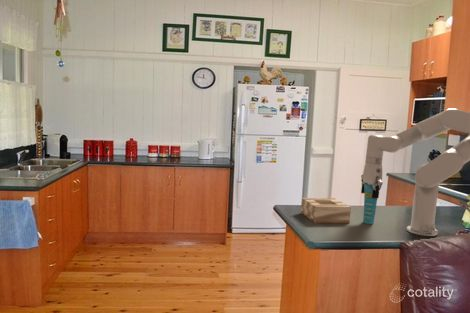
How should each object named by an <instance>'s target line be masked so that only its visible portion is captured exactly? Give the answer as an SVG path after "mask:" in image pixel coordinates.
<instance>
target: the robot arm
mask: <svg viewBox="0 0 470 313" xmlns="http://www.w3.org/2000/svg"><path fill="white" fill-rule="evenodd" d="M451 130H452V131H453V130H454V131H456V132H461V133H465V134H468V135H467V136H466V137H465V138H464V139H462V140H461V141H460V142H458V143H456V144H455V145H454V146H452V147H451V148H448V149H447V150H445V151H443V152H441V154H440V155H438V156H436V157H435V158H434V159H432V160H431V161H429V162H427V163H424V164H421V165H420V166H419V167H418V168H417V169H416V172H415V175H414V179H415V183H414V184H415V185H414V193H413V200H412V209H411V220H410V225H408V226H406V231H407V232H408V233H411V234H414V235H418V236H423V237H436V236H437V235H438V233H439V230H438V229H436V225H435V222H436V220H435V219H436V213H437V212H436V211H437V203H438V197H439V195H438V194H439V186H440V183H442V182H443V181H446V180H447V179H449V178H450V177H452V176H454V175H455V174H457V173H458V172H460V171H461V170H462V169H463V167H464V165H465V164H467V163H468V162H470V111H464V110H463V109H462V110H461V109H458V108H453V107H452V108H450V107H449V108H447V109H445V110H444V111H441V112H439V113H437V114H434V115H432V116H430V117H428V118H426V119H424V120H422V121H419V122H417V123H415V124H414V125H413V126H411V127H409V128H407V129H405V130H403V131H401V132H399V133H396V134H395V135H391V136H385V135H377V134H369V136H368V138H367V145H366V153H365V164H364V167H363V168H364V169H363V171H362V172H363V173H362V174H361V175H360V177H361V179H360V180H361V190H360V191H361V192H360V193H361V194H364V183H365V184H370V185H373V189H374V190H373V191H372V198H377V199H379V198H380V197H379V196H380V190H381V188H382V186H383V183H384V182H383V181H382V180H383V158H384V157H383V156H384V152H386V153H393V154H394V153H398V151H400V150H403V149H405V148H407V147H410V146H412V145H414V144H417V143H420V142H424V141H425V142H426V141H427V140H430V139H432V138H434V137H436V136H438V135H439V136H440V135H441V134H443V133H446V132H448V131H451ZM375 186H376V187H375Z"/></svg>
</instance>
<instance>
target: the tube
mask: <svg viewBox="0 0 470 313" xmlns="http://www.w3.org/2000/svg"><path fill="white" fill-rule="evenodd" d="M375 187H376V186H375ZM373 190H374V189H373V185H370V184H365V183H364V193H363V194H364V198H363V200H364V201H363V216H362V219H363V220H362V221H363V223H364V224H367V225H373V224H374V223H375V216H376V209H377V202H378V198H372V191H373Z"/></svg>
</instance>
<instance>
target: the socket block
mask: <svg viewBox="0 0 470 313" xmlns="http://www.w3.org/2000/svg"><path fill="white" fill-rule="evenodd" d="M300 208H301V209H300V214H301V213H302V215H303V214H304V215H305V216H306V218H307V219H308V218H309V219H310V221H311V222H312V221H313V222H314V223H313V222H312V223H313V224H350V220H351V211H352V210H351V209H352V207H351V206H350V205H348V204H347V203H344V202H342V201H340V200H339V199H337V198H335V197H328V198H327V197H324V198H323V197H316V198H315V197H302V198H301V207H300ZM304 215H303V216H304ZM305 216H304V217H305ZM309 219H308V220H309Z"/></svg>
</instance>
